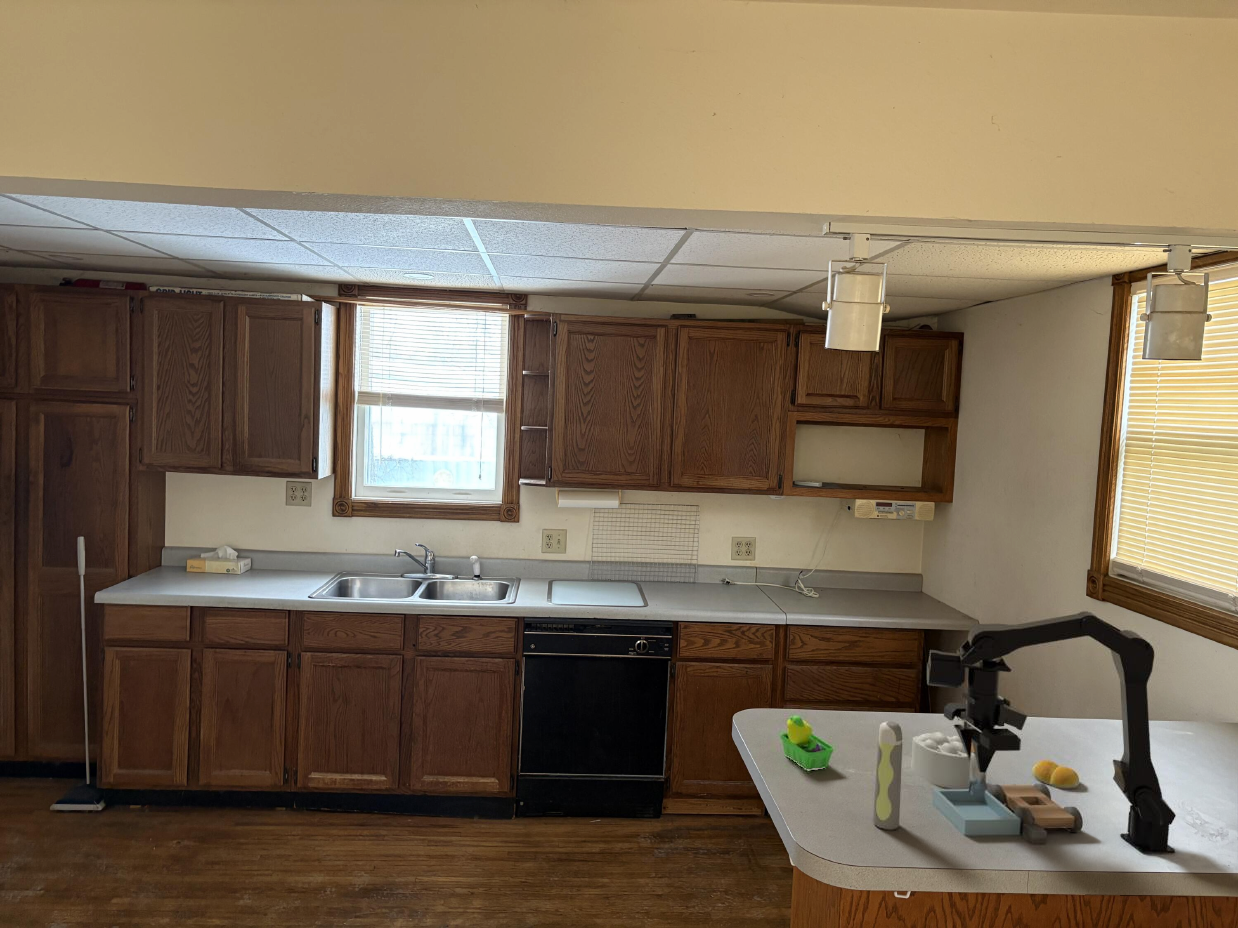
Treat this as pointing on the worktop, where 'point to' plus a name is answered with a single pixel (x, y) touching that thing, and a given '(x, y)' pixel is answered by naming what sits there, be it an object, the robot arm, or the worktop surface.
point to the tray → (976, 813)
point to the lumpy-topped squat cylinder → (941, 760)
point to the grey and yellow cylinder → (888, 776)
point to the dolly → (1036, 810)
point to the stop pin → (976, 777)
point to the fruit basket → (805, 745)
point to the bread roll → (1055, 775)
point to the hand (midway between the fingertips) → (978, 768)
